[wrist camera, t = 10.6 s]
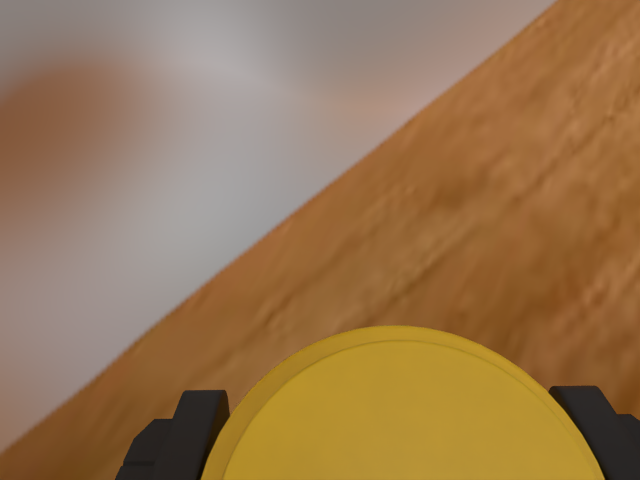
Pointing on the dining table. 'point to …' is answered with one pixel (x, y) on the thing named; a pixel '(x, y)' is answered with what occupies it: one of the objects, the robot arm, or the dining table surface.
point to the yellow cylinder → (399, 416)
